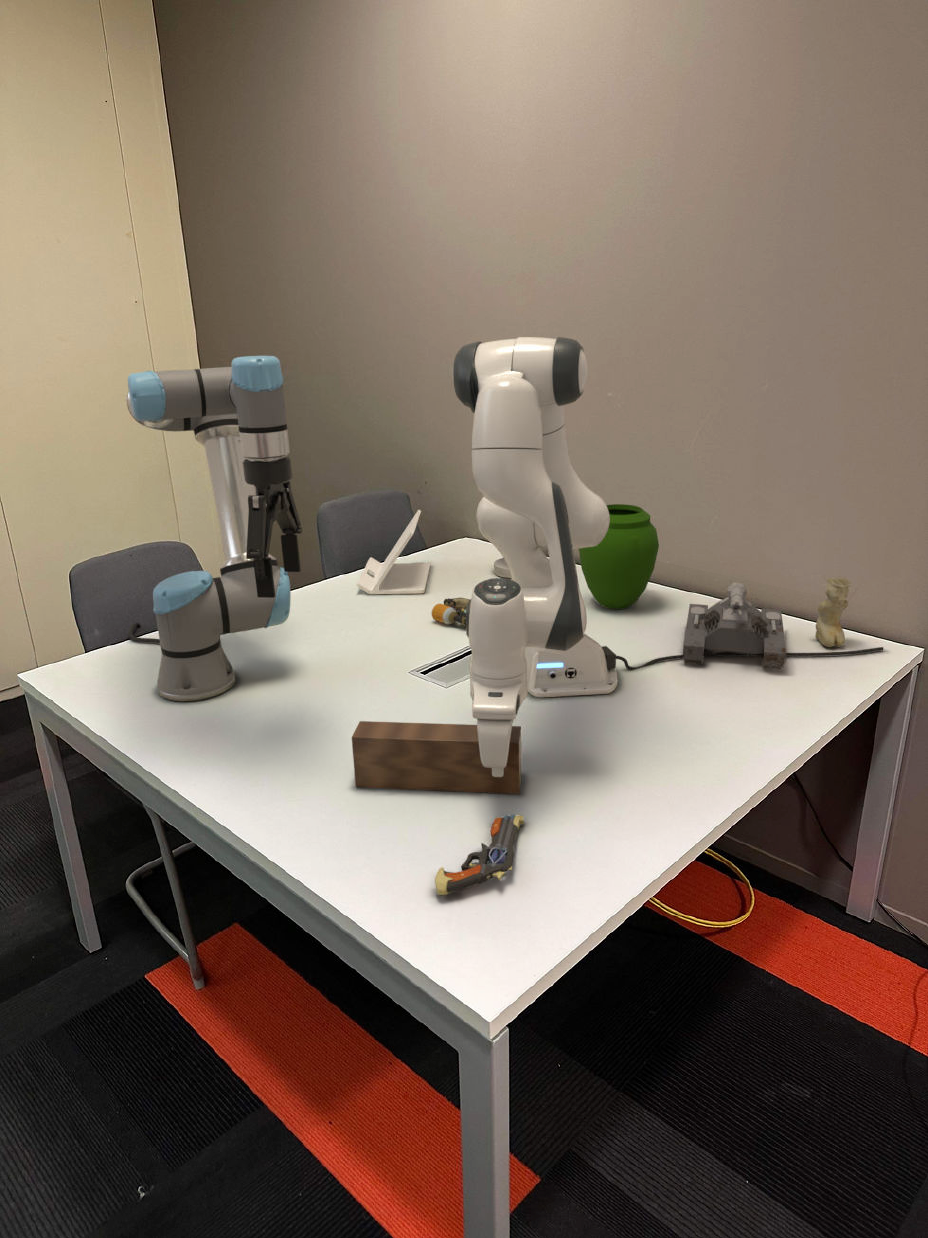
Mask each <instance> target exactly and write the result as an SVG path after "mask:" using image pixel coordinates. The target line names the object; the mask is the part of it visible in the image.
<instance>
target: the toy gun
mask: <svg viewBox="0 0 928 1238" xmlns="http://www.w3.org/2000/svg"><path fill="white" fill-rule="evenodd" d="M524 821H525V820H524V815H522V814H519V815H516V814H514V813H513V814H511V815H508V814H505V815H504V816H498V817H495V818H494V820H493V822H492V825H491V828H490V836H491V838H492V839H491V842H490V844H489V845H486V844H484V843H482V842H481V843H480V845H481V851H474V852H470V853H469V854H467V858H466V859H465V861H464V862H463V863H462V864H461V865H460V867H461V868H460V869H461V871H456V872H451V871H446V870H445V869H444V867H443V866H442V867H440V868H439V869H438V870H437V873H436V875H435V878H434V884H435V889H436V890H435V891H436V894H437V895H438V896H447V895H448V894H451V893H454V892H459V891H462V890H465V889H468V888H470V887H473V886H475V885H480V884H483V883H487V882H489V881H490V880H491V879H494V878H497V881H501V880H502V878H503V877H504V876H505V875H506V872H508V871H511V870H513V864H514V860H515V844H516V840H517V835H518V832H519V829H520V827H521V825H524V824H525V822H524ZM475 860H476V861H478V862H477V863H476V864H473V863H472V862H473V861H475Z"/></svg>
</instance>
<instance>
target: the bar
mask: <svg viewBox="0 0 928 1238" xmlns="http://www.w3.org/2000/svg"><path fill="white" fill-rule="evenodd" d="M351 746H352V758H353V759H352V760H353V770H354V783H355V788H368V789H369V788H373V789H394V790H415V791H418V790H420V791H441V792H467V793H485V794H486V793H490V794H510V795H511V794H512V795H519V794H520V791H521V783H522V726H520V725H512V731H511V738H510V744H509V753H508V760H507V765H506V767H505V768H504V775H503V776H502V777H494V776H493V775H492V768H486V767H484V766H483V765H482V762H481V758H480V750H479V741H478V731H477V724H465V723H464V724H463V723H460V724H459V723H429V722H400V721H399V722H397V721H372V720H371V721H365V720H360V721H359V722H358V724H357V726H356V728H355V730H354V731H353V733H352V736H351Z"/></svg>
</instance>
